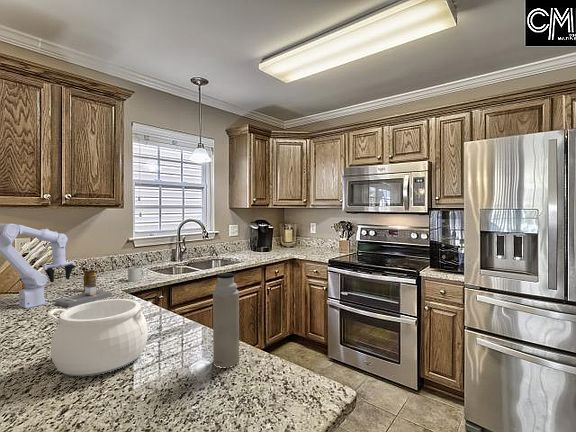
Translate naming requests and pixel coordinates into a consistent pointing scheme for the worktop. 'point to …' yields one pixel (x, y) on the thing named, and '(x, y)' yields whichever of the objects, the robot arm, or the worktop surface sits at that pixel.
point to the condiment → (89, 278)
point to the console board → (82, 298)
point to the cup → (135, 274)
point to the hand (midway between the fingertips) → (59, 280)
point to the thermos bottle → (225, 321)
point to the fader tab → (90, 289)
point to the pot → (98, 336)
